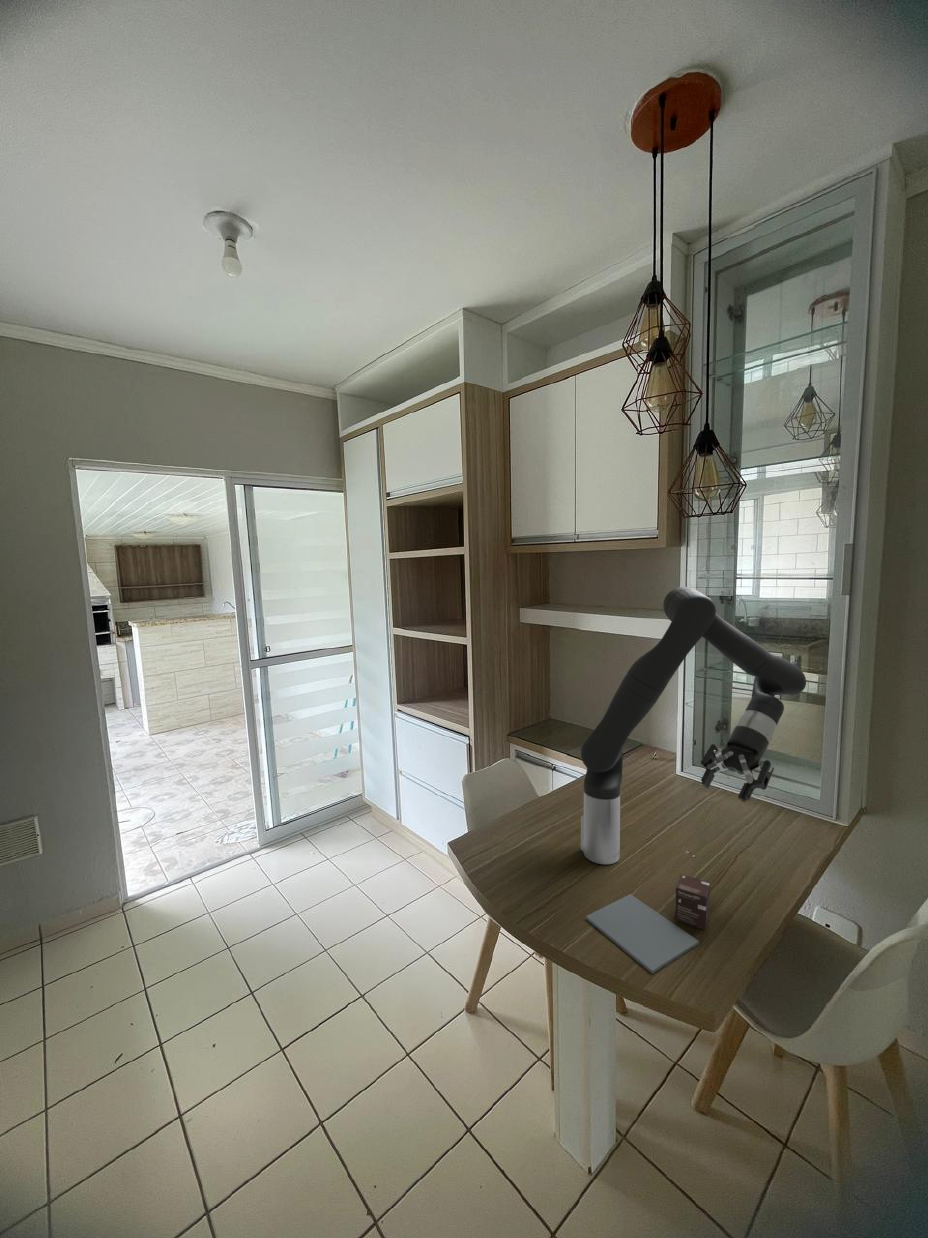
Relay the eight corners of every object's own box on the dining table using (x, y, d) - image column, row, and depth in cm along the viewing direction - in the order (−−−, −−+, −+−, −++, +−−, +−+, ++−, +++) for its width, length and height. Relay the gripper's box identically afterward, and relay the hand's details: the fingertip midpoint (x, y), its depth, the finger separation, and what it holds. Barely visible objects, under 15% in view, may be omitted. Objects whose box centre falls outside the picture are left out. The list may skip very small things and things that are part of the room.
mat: (585, 919, 103) (585, 916, 103) (630, 896, 110) (630, 894, 110) (652, 974, 88) (652, 971, 88) (698, 944, 95) (698, 941, 95)
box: (674, 920, 102) (675, 887, 102) (679, 904, 107) (680, 873, 107) (705, 931, 99) (706, 897, 98) (709, 914, 104) (710, 882, 103)
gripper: (716, 718, 117) (686, 773, 113) (778, 733, 105) (748, 796, 100) (728, 735, 120) (700, 790, 116) (790, 752, 108) (761, 814, 103)
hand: (722, 792), depth 108 cm, fingers open, 8 cm apart
